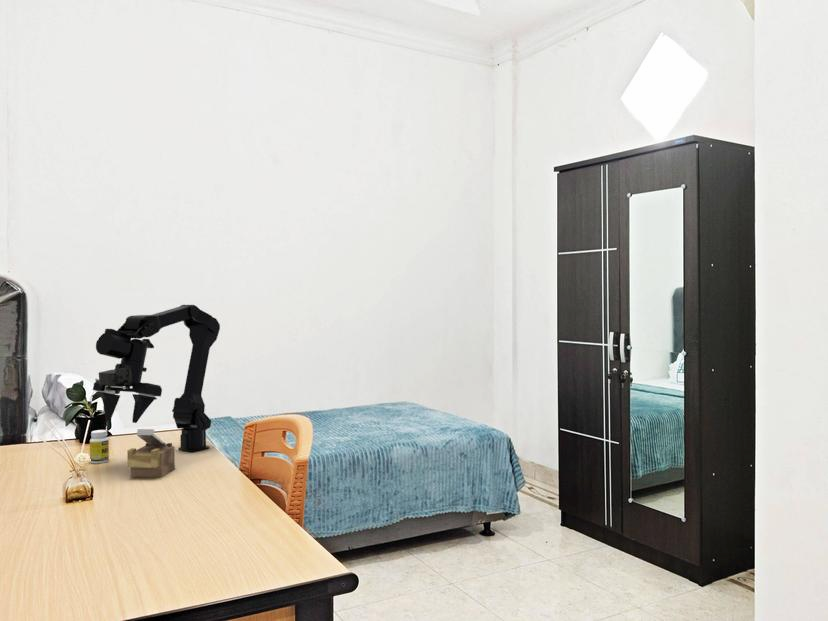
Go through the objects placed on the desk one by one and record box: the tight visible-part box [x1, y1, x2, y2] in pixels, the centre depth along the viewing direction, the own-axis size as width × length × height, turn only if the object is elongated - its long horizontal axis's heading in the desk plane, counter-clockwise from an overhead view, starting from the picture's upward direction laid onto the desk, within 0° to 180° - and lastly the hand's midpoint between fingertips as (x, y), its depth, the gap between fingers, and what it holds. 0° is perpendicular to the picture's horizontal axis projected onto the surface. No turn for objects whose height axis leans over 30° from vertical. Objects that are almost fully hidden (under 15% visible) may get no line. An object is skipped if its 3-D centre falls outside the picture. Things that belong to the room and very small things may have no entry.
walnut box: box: [126, 442, 176, 478], centre depth 174 cm, size 10×8×7 cm
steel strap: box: [136, 428, 168, 446], centre depth 175 cm, size 10×4×2 cm, turn 177°
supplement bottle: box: [89, 429, 110, 464], centre depth 188 cm, size 5×5×8 cm
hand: (120, 421), depth 177 cm, fingers open, 9 cm apart
